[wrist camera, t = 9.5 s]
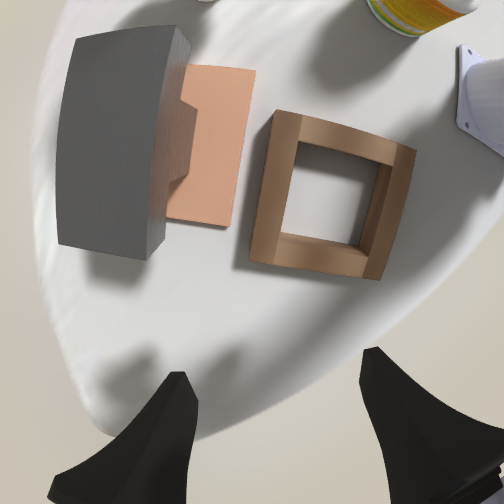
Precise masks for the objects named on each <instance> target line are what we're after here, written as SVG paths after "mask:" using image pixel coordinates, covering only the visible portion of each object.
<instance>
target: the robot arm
mask: <svg viewBox="0 0 504 504" xmlns="http://www.w3.org/2000/svg"><path fill="white" fill-rule="evenodd" d="M468 52H469V53H468ZM459 56H460V72H459V96H458V109H457V119H456V123H457V125H458V127H459V128H460V129H462V130H464V131H465V132H467V133H469V134H470V135H472V136H473V137H475V138H477V139H478V140H480V141H481V142H483V143H484V144H486V145H487V146H489V147H490V148H492V149H493V150H494V151H496V152H497V153H499V154H500V155H501V156H503V157H504V58H501V59H495V60H489V61H486V60H485V59H484V58H482V57H481V56H480V55H478V54H477V53H476V52H475V51H473V50H472V49H470V48H469V47H468V46H466V45H465V44H461V45H459ZM465 123H466V126H465ZM359 384H360V389H361V392H362V396H363V400H364V404H365V406H366V409H367V411H368V414H369V417H370V419H371V422H372V424H373V427H374V430H375V432H376V435H377V438H378V441H379V443H380V446H381V449H382V453H383V458H384V463H385V467H386V472H387V477H388V484H389V492H390V500H391V504H504V476H503V477H502V478H500V477H499V474H500V473H501V468H500V465H501V464H502V463H503V462H504V429H502V428H498V427H494V426H491V425H488V424H485V423H483V422H480V421H477V420H475V419H473V418H471V417H468V416H467V415H464V414H462V413H460V412H458V411H456V410H455V409H453V408H451V407H450V406H448V405H446V404H445V403H443V402H442V401H440V400H439V399H437V398H436V397H434V396H433V395H432V394H430V393H429V392H428V391H426V390H425V389H424V388H423V387H421V386H420V385H419V384H418V383H417V382H415V381H414V380H413V379H412V378H411V377H410V376H409V375H407V374H406V373H405V372H404V371H403V370H402V369H401V368H400V367H399V366H398V365H397V364H395V363H394V362H393V361H392V360H391V359H390V358H389V357H388V356H387V355H386V354H385V353H384V352H383V351H382V350H381V349H380V348H379V347H378V346H377V347H373V348H369V349H364V351H363V358H362V365H361V372H360V378H359ZM197 417H198V399H197V397H196V395H195V393H194V391H193V389H192V387H191V384H190V382H189V380H188V378H187V376H186V374H185V371H184V372H170V373H169V375H168V376H167V377H166V379H165V380H164V381H163V383H162V384H161V385H160V387H159V388H158V390H157V391H156V392H155V394H154V395H153V396H152V398H151V399H150V400H149V401H148V403H147V404H146V405H145V406H144V408H143V409H142V410H141V411H140V413H139V414H138V415H137V416H136V417H135V418H134V419H133V420H132V422H131V423H130V424H129V425H128V426H127V427H126V428H125V429H124V430H123V431H122V432H121V433H120V434H119V435H118V436H117V437H116V438H115V439H114V440H113V441H111V442H110V443H109V444H108V445H107V446H105V447H104V448H103V449H102V450H100V451H99V452H97V453H96V454H95V455H93V456H92V457H90V458H89V459H87V460H86V461H84V462H82V463H80V464H79V465H77V466H75V467H73V468H71V469H69V470H67V471H65V472H63V473H60V474H58V475H56V476H55V477H54V480H53V482H52V485H51V488H50V490H49V493H48V496H47V498H48V499H49V500H50V501H52V502H53V503H55V504H186V488H187V472H188V465H189V460H190V455H191V450H192V445H193V440H194V435H195V430H196V425H197Z"/></svg>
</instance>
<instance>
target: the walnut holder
mask: <svg viewBox="0 0 504 504" xmlns="http://www.w3.org/2000/svg"><path fill="white" fill-rule="evenodd" d="M298 142H301V143H306V144H310V145H315V146H319V147H323V148H327V149H331V150H335V151H339V152H342V153H346V154H350V155H353V156H357V157H360V158H364V159H367V160H370V161H374V162H377V163H379V168H378V172H377V177H376V181H375V185H374V190H373V194H372V198H371V202H370V206H369V210H368V213H367V217H366V221H365V224H364V228H363V231H362V235H361V238H360V242H359V245H358V246H355V245H349V244H344V243H339V242H333V241H328V240H322V239H317V238H311V237H305V236H300V235H294V234H288V233H282V232H280V230H281V225H282V221H283V216H284V211H285V206H286V201H287V196H288V191H289V186H290V181H291V176H292V171H293V166H294V161H295V155H296V150H297V145H298ZM416 151H417V150H414V149H412V148H409V147H407V146H404V145H401V144H399V143H396V142H393V141H391V140H388V139H385V138H382V137H379V136H376V135H373V134H370V133H367V132H364V131H361V130H358V129H355V128H351V127H348V126H345V125H341V124H337V123H334V122H330V121H326V120H322V119H318V118H314V117H310V116H306V115H301V114H297V113H292V112H287V111H282V110H277V109H276V110H275V112H274V114H273V119H272V125H271V130H270V136H269V141H268V147H267V152H266V158H265V163H264V169H263V175H262V180H261V186H260V191H259V197H258V203H257V208H256V214H255V219H254V225H253V231H252V236H251V242H250V248H249V261H252V262H259V263H265V264H272V265H278V266H284V267H291V268H298V269H304V270H311V271H317V272H324V273H331V274H337V275H344V276H351V277H358V278H365V279H371V280H378V281H380V279H381V277H382V274H383V271H384V268H385V266H386V263H387V260H388V257H389V254H390V251H391V248H392V245H393V242H394V239H395V235H396V232H397V229H398V225H399V222H400V219H401V215H402V211H403V208H404V204H405V200H406V196H407V192H408V188H409V184H410V180H411V175H412V171H413V166H414V161H415V156H416Z"/></svg>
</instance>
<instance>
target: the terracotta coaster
mask: <svg viewBox="0 0 504 504" xmlns="http://www.w3.org/2000/svg"><path fill="white" fill-rule="evenodd" d="M255 75H256V70H249V69H241V68H232V67H222V66H210V65H192V64H187V67H186V72H185V77H184V82H183V87H182V93H181V98H180V99H181V100H182V101H184V102H186V103H188V104H189V105H191V106H193V107H194V108H196V109H198V113H197V120H196V126H195V132H194V139H193V146H192V154H191V161H190V169H189V173H188V174H186V175H184V176H182V177H180V178H178V179H175V180H173V181H171V182H169V189H168V200H167V214H166V217H169V218H175V219H182V220H189V221H196V222H202V223H209V224H215V225H222V226H228V227H230V223H231V216H232V209H233V203H234V196H235V190H236V184H237V178H238V171H239V165H240V159H241V153H242V147H243V142H244V136H245V130H246V124H247V119H248V113H249V108H250V102H251V97H252V91H253V86H254V81H255Z"/></svg>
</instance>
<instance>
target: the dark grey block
mask: <svg viewBox="0 0 504 504" xmlns="http://www.w3.org/2000/svg"><path fill="white" fill-rule="evenodd" d="M190 49H191V45H190V44H189V42H188V41H187V39H186V38H185V36H184V35H183V34H182V32H181V31H180V29H179V28H178V27H177V25H168V26H152V27H141V28H132V29H125V30H118V31H112V32H106V33H101V34H96V35H91V36H86V37H82V38H78V39H76V41H75V45H74V48H73V52H72V56H71V60H70V64H69V68H68V72H67V77H66V82H65V87H64V92H63V98H62V105H61V112H60V119H59V128H58V138H57V152H56V219H57V233H58V243H59V244H60V245H65V246H70V247H75V248H80V249H86V250H91V251H96V252H101V253H107V254H112V255H117V256H123V257H128V258H134V259H140V260H145V261H147V259H148V258H149V257H150V256H151V255H152V253H153V252H154V251H155V250H156V249H157V248H158V246H159V245H160V244H161V243H162V242H163V241H164V239H165V229H166V214H167V200H168V189H169V182H171V181H173V180H175V179H178V178H180V177H182V176H184V175H186V174H188V173H189V169H190V161H191V154H192V146H193V139H194V132H195V126H196V120H197V113H198V109H196V108H194V107H193V106H191V105H189V104H188V103H186V102H184V101H182V100H181V99H180V98H181V93H182V87H183V82H184V77H185V72H186V67H187V63H188V58H189V54H190Z"/></svg>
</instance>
